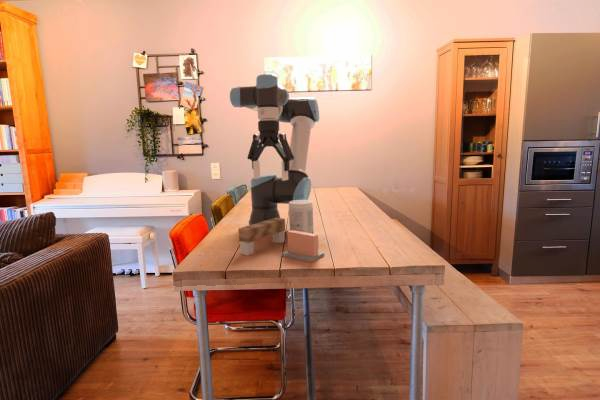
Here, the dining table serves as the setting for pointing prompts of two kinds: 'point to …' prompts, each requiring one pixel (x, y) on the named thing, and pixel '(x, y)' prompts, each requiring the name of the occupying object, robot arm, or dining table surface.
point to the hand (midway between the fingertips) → (270, 179)
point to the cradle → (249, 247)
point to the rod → (261, 230)
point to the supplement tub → (301, 216)
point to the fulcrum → (302, 246)
